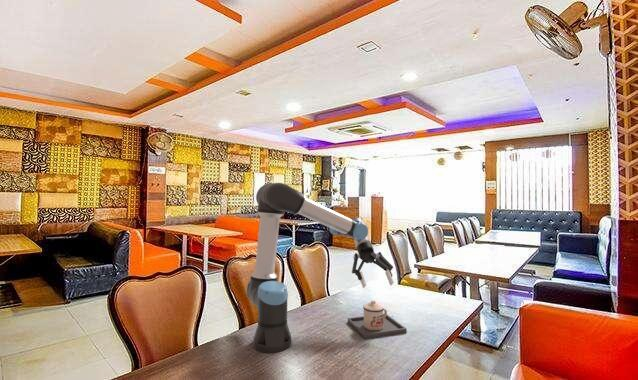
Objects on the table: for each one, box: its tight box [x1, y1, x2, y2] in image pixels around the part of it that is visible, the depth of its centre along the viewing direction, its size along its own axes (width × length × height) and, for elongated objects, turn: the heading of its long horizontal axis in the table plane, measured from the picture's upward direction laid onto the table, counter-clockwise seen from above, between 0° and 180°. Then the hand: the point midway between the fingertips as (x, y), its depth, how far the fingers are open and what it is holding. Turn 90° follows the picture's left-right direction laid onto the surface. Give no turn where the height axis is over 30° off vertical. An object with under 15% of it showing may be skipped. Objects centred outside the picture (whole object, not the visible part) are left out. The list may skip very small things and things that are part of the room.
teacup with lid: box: [362, 299, 388, 331], centre depth 142 cm, size 12×9×12 cm
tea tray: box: [347, 313, 407, 340], centre depth 142 cm, size 20×18×2 cm
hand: (378, 285), depth 140 cm, fingers open, 13 cm apart
